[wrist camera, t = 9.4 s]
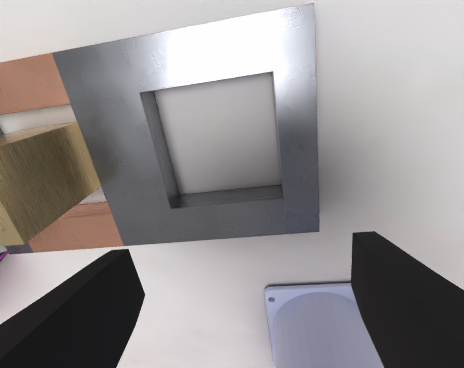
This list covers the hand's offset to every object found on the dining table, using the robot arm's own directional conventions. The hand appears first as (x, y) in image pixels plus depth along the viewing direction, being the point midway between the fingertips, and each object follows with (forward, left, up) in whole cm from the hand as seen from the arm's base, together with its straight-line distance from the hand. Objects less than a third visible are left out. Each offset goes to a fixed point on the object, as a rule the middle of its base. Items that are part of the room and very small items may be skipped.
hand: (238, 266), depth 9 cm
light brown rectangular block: (+2, +12, -10) cm, 16 cm away
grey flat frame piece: (+2, +7, -9) cm, 12 cm away
